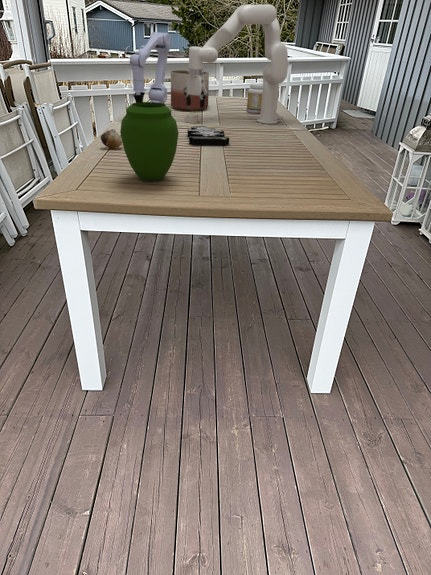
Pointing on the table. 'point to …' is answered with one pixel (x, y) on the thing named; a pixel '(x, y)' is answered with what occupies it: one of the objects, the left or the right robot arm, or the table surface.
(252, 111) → the supplement tub
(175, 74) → the planter
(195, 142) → the sign
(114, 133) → the seashell
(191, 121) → the grey square block
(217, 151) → the table surface
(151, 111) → the vase
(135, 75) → the left robot arm
